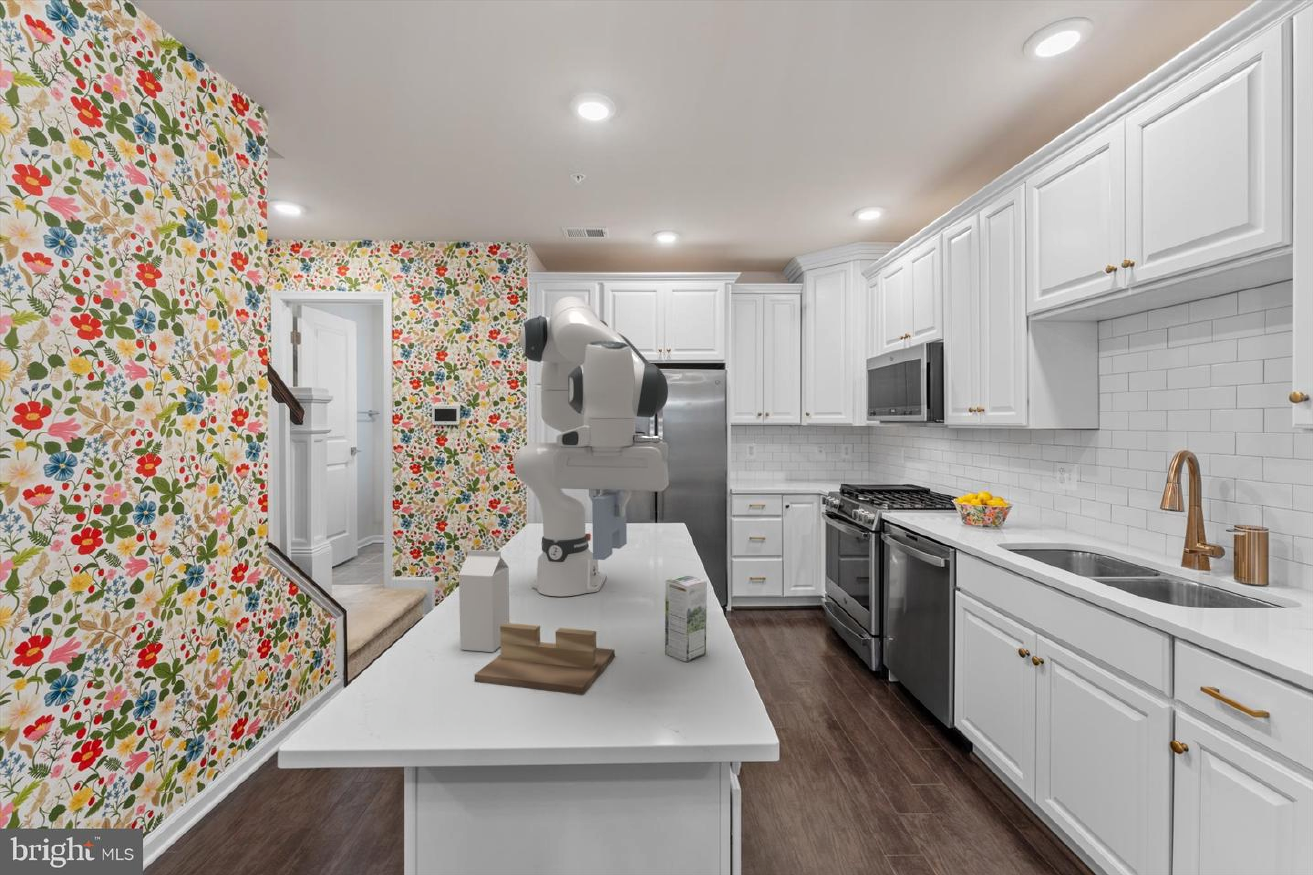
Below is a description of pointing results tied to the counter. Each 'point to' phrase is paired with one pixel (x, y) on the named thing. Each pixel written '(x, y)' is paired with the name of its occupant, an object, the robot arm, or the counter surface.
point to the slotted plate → (607, 525)
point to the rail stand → (546, 660)
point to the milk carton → (483, 600)
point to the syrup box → (685, 617)
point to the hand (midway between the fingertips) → (610, 515)
